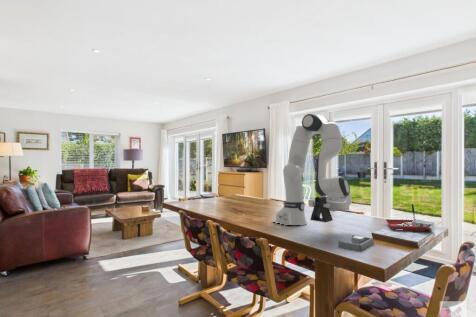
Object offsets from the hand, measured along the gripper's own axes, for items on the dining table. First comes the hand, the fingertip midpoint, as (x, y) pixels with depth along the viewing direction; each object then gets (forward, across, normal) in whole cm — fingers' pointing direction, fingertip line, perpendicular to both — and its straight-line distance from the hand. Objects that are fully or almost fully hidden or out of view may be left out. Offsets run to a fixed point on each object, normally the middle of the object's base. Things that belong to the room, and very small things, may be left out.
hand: (320, 206), depth 137 cm
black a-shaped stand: (-1, 0, +8) cm, 8 cm away
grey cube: (-1, +18, +17) cm, 25 cm away
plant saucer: (-51, +24, +17) cm, 59 cm away
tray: (-1, +17, +16) cm, 23 cm away
